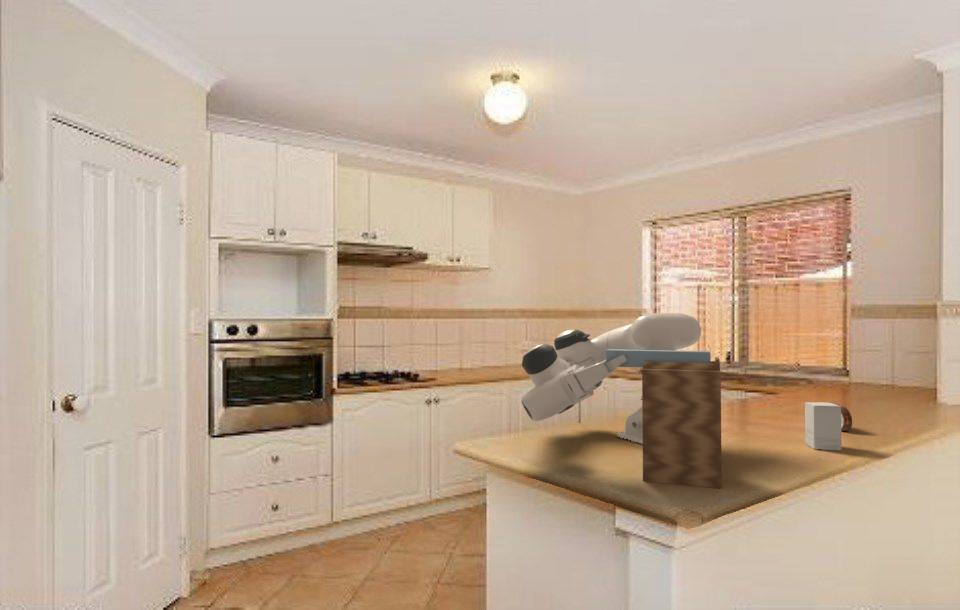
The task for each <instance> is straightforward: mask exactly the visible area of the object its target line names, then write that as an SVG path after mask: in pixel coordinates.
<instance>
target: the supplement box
mask: <svg viewBox="0 0 960 610" xmlns="http://www.w3.org/2000/svg"><path fill="white" fill-rule="evenodd" d="M833 403H834V402H832V403H828V402H826V401H825V402H824V401H821V402H817V401H816V402H812V401H811V402H808V401H806V402H804V421H805V422H804V425H805V426H804V427H805V428H804V431H805V438H804V439H805V442H804V443H805V445H806V446H808V447H810V448H811V449H813V450H818V449H821V450H820V451H842V431H841V406H838V405H836V404H837V403H835V404H833Z"/></svg>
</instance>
